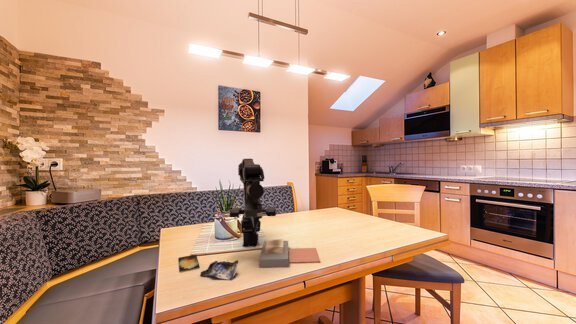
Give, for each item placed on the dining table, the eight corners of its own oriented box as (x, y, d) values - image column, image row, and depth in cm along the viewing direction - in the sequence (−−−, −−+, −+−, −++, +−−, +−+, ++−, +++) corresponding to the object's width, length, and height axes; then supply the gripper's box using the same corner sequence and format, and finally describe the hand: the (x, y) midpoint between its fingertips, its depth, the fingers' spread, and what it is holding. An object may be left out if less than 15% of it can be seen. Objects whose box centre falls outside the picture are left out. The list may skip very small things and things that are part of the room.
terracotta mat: (289, 263, 92) (289, 262, 92) (288, 249, 106) (288, 248, 106) (320, 262, 92) (320, 261, 92) (315, 248, 106) (315, 247, 106)
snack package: (205, 288, 76) (241, 277, 82) (203, 267, 76) (239, 257, 83) (199, 279, 86) (231, 269, 92) (197, 260, 87) (229, 252, 93)
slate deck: (259, 267, 89) (259, 259, 89) (264, 247, 109) (264, 241, 109) (288, 266, 89) (288, 258, 89) (288, 247, 109) (288, 240, 109)
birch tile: (265, 253, 94) (265, 247, 94) (267, 245, 103) (267, 239, 103) (283, 253, 94) (283, 246, 94) (283, 245, 103) (283, 239, 103)
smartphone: (196, 254, 103) (200, 267, 89) (196, 255, 103) (200, 269, 89) (178, 257, 99) (179, 272, 86) (178, 259, 99) (179, 273, 86)
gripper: (225, 198, 90) (226, 239, 90) (274, 197, 90) (275, 238, 91) (232, 194, 101) (233, 230, 102) (275, 193, 101) (276, 229, 102)
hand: (254, 232), depth 99 cm, fingers closed
